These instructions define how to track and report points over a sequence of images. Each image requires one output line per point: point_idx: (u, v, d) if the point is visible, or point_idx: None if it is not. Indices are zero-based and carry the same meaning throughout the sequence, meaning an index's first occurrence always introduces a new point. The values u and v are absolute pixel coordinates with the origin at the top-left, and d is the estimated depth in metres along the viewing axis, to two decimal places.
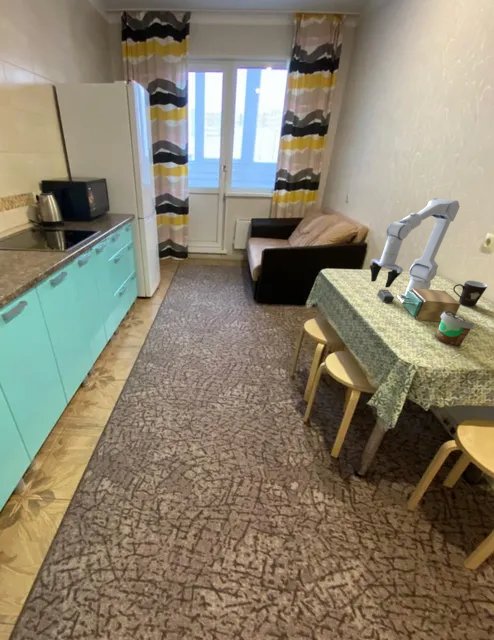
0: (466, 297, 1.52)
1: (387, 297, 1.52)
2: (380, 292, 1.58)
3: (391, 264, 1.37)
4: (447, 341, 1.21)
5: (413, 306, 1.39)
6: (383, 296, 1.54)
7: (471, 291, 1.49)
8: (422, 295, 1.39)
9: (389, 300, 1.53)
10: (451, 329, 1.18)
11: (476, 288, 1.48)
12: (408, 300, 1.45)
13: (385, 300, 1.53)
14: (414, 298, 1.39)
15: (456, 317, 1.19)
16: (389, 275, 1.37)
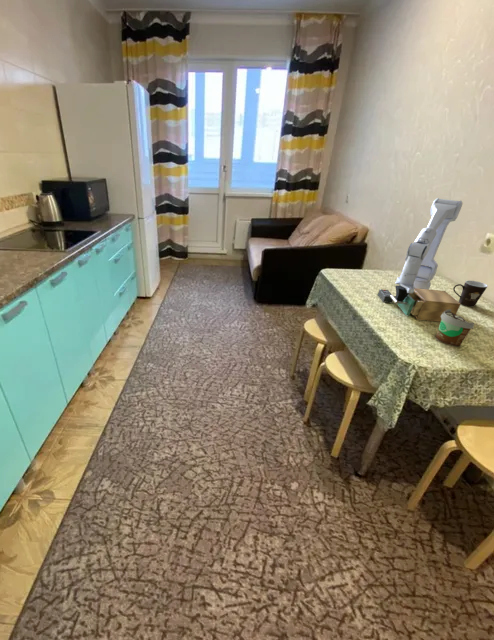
0: (466, 297, 1.52)
1: (387, 297, 1.52)
2: (380, 292, 1.58)
3: (406, 283, 1.36)
4: (447, 341, 1.21)
5: (406, 306, 1.40)
6: (383, 296, 1.54)
7: (471, 291, 1.49)
8: (422, 295, 1.39)
9: (389, 300, 1.53)
10: (451, 329, 1.18)
11: (476, 288, 1.48)
12: None
13: (385, 300, 1.53)
14: (407, 297, 1.40)
15: (456, 317, 1.19)
16: (397, 291, 1.40)
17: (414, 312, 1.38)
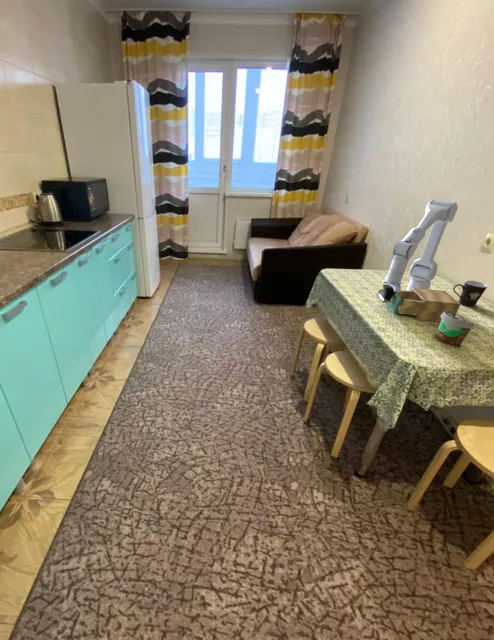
0: (466, 297, 1.52)
1: None
2: (380, 292, 1.58)
3: (393, 282, 1.37)
4: (447, 341, 1.21)
5: (393, 305, 1.40)
6: None
7: (471, 291, 1.49)
8: (422, 295, 1.39)
9: None
10: (451, 329, 1.18)
11: (476, 288, 1.48)
12: None
13: None
14: (394, 296, 1.40)
15: (456, 317, 1.19)
16: (385, 289, 1.41)
17: (401, 311, 1.39)
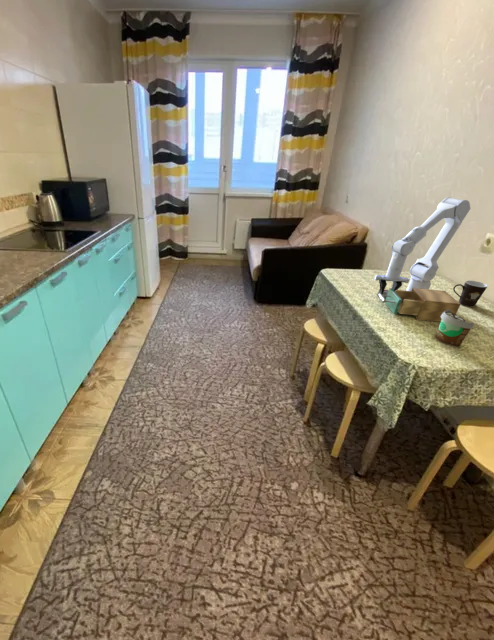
0: (466, 297, 1.52)
1: None
2: None
3: (385, 275, 1.52)
4: (447, 341, 1.21)
5: (393, 305, 1.40)
6: None
7: (471, 291, 1.49)
8: (422, 295, 1.39)
9: None
10: (451, 329, 1.18)
11: (476, 288, 1.48)
12: (389, 298, 1.46)
13: None
14: (394, 296, 1.40)
15: (456, 317, 1.19)
16: None
17: (401, 311, 1.39)
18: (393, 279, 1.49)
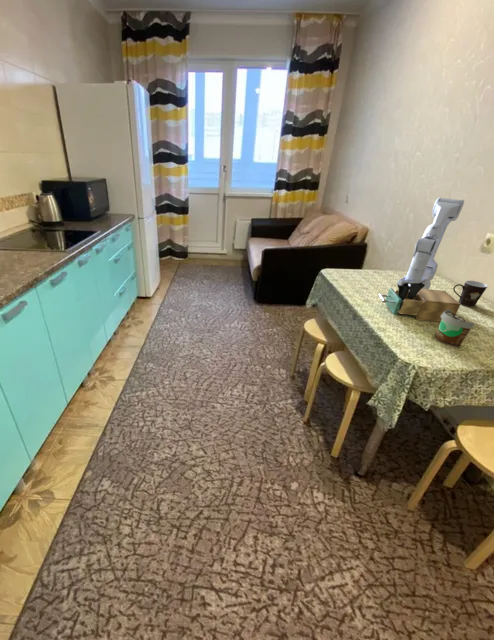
0: (466, 297, 1.52)
1: None
2: None
3: (407, 277, 1.37)
4: (447, 341, 1.21)
5: (393, 305, 1.40)
6: None
7: (471, 291, 1.49)
8: (422, 295, 1.39)
9: None
10: (451, 329, 1.18)
11: (476, 288, 1.48)
12: (389, 298, 1.46)
13: None
14: (394, 296, 1.40)
15: (456, 317, 1.19)
16: None
17: (401, 311, 1.39)
18: (418, 281, 1.35)
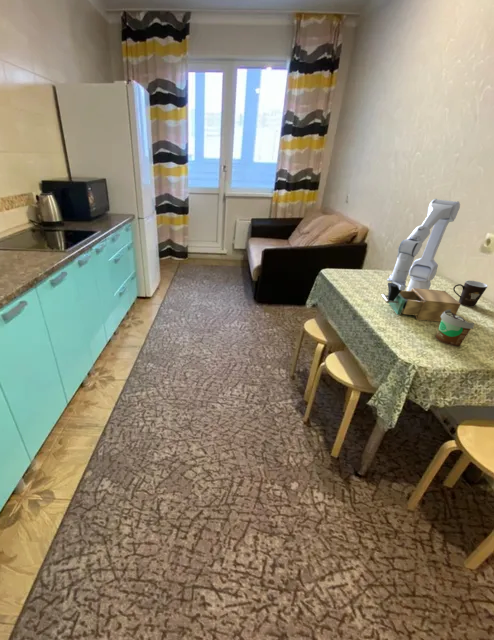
0: (466, 297, 1.52)
1: None
2: None
3: (398, 281, 1.36)
4: (447, 341, 1.21)
5: (397, 305, 1.40)
6: None
7: (471, 291, 1.49)
8: (422, 295, 1.39)
9: None
10: (451, 329, 1.18)
11: (476, 288, 1.48)
12: None
13: None
14: (398, 296, 1.40)
15: (456, 317, 1.19)
16: (390, 288, 1.40)
17: (405, 311, 1.39)
18: None
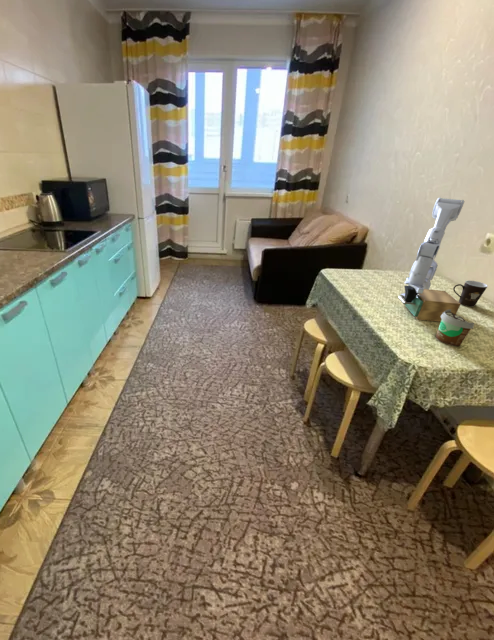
0: (466, 297, 1.52)
1: None
2: None
3: (415, 283, 1.36)
4: (447, 341, 1.21)
5: (414, 307, 1.39)
6: None
7: (471, 291, 1.49)
8: (422, 295, 1.39)
9: None
10: (451, 329, 1.18)
11: (476, 288, 1.48)
12: None
13: None
14: (415, 298, 1.39)
15: (456, 317, 1.19)
16: (407, 291, 1.39)
17: None
18: None
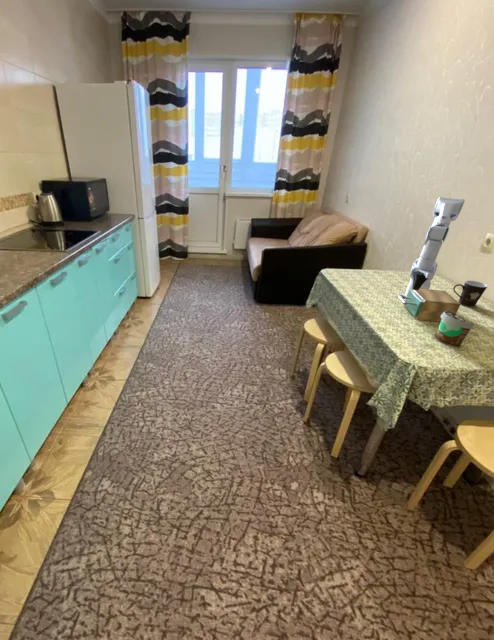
0: (466, 297, 1.52)
1: None
2: None
3: (424, 269, 1.32)
4: (447, 341, 1.21)
5: (414, 307, 1.39)
6: None
7: (471, 291, 1.49)
8: (422, 295, 1.39)
9: None
10: (451, 329, 1.18)
11: (476, 288, 1.48)
12: (409, 300, 1.45)
13: None
14: (415, 298, 1.39)
15: (456, 317, 1.19)
16: (415, 276, 1.36)
17: None
18: None
